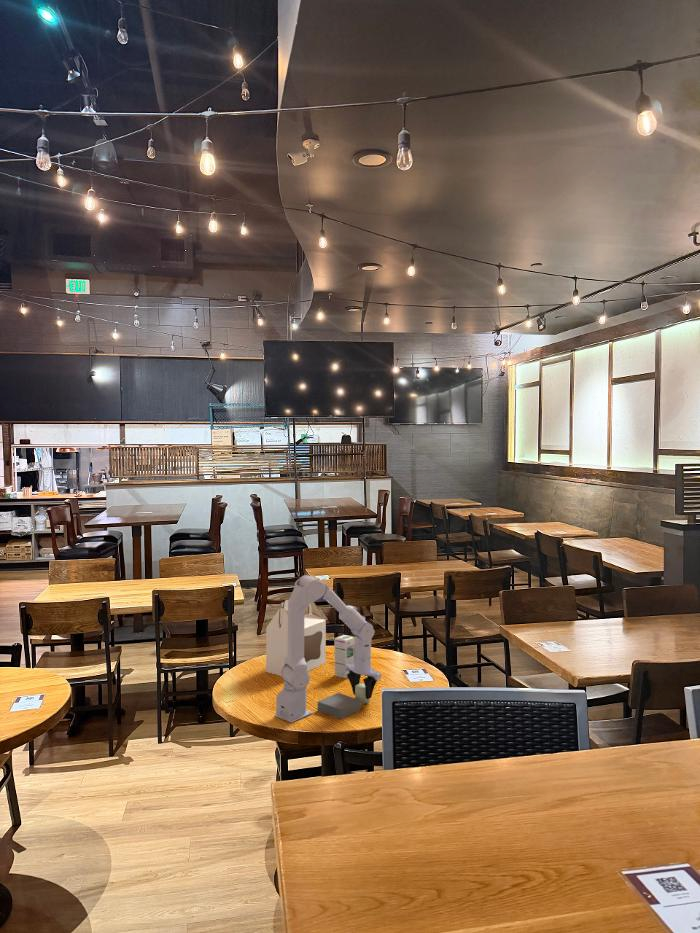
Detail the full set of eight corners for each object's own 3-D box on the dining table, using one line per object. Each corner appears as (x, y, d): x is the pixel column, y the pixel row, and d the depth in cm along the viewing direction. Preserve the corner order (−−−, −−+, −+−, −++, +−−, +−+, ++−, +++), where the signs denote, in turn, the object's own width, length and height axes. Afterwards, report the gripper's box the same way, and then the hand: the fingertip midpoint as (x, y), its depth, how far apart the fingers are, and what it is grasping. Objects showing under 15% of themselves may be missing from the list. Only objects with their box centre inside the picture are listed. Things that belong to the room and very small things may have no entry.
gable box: (299, 657, 255) (300, 589, 255) (326, 662, 248) (326, 593, 248) (265, 672, 236) (265, 599, 236) (292, 679, 229) (293, 604, 229)
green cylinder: (363, 704, 205) (363, 690, 205) (351, 701, 209) (352, 686, 209) (372, 700, 209) (372, 685, 209) (361, 696, 212) (361, 682, 212)
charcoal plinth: (340, 719, 194) (340, 709, 194) (317, 710, 200) (317, 701, 200) (360, 709, 202) (360, 700, 201) (338, 701, 208) (338, 692, 208)
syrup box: (346, 679, 230) (346, 640, 230) (333, 675, 233) (334, 637, 233) (355, 674, 234) (355, 636, 234) (343, 671, 238) (343, 634, 238)
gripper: (386, 657, 207) (386, 698, 207) (353, 649, 217) (353, 687, 217) (373, 662, 202) (373, 704, 202) (340, 653, 211) (340, 693, 211)
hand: (362, 696), depth 209 cm, fingers closed on green cylinder, 5 cm apart
